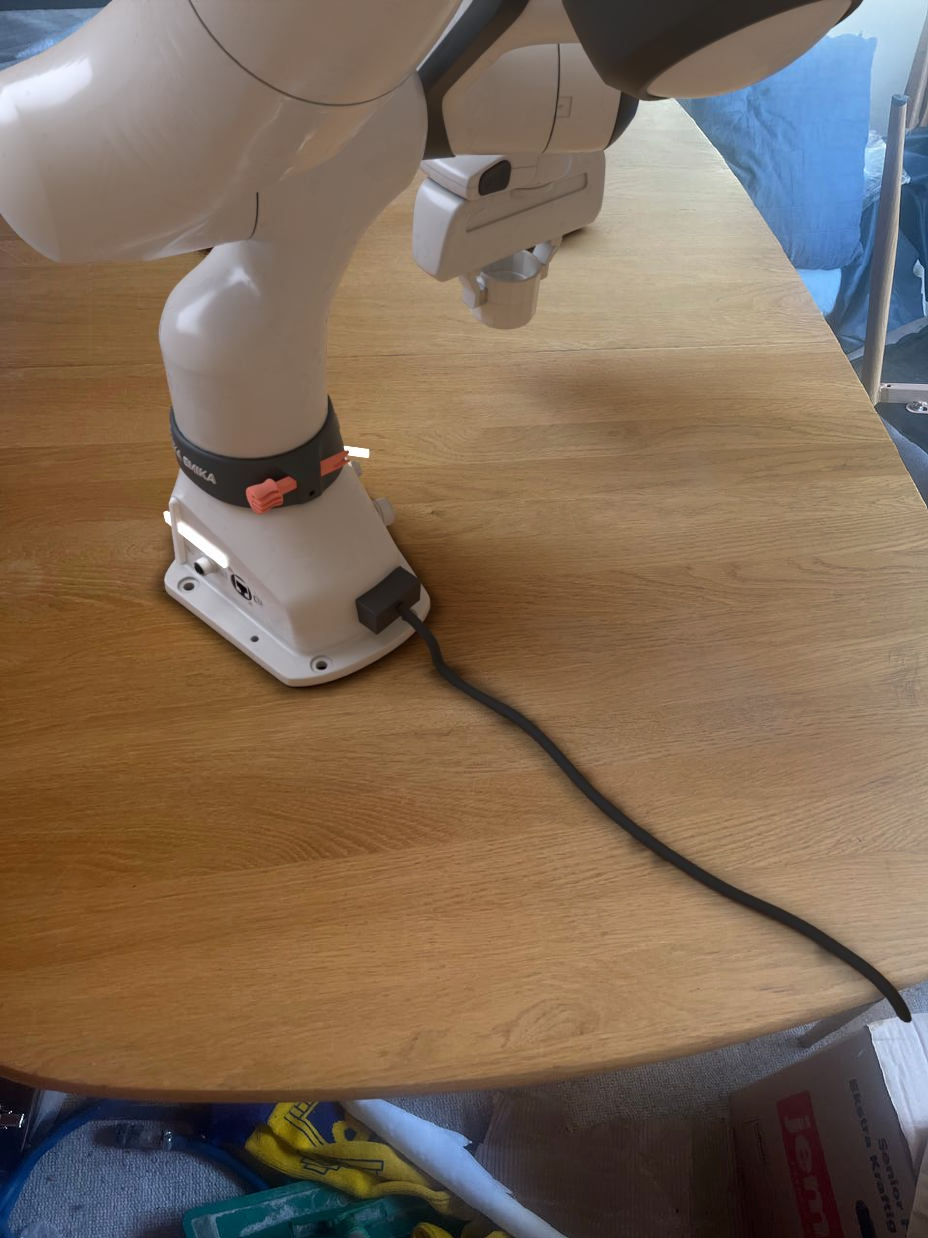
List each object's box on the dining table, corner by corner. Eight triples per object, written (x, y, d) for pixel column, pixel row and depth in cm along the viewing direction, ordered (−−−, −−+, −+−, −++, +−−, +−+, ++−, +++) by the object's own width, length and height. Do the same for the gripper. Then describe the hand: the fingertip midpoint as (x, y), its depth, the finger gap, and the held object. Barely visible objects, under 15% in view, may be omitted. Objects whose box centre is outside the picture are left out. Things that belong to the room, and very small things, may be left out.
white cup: (548, 316, 92) (556, 268, 88) (499, 338, 89) (504, 290, 85) (503, 286, 95) (509, 238, 91) (454, 307, 92) (458, 258, 88)
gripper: (582, 98, 86) (559, 244, 96) (402, 154, 76) (399, 309, 87) (634, 125, 83) (605, 272, 93) (454, 186, 73) (444, 342, 84)
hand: (504, 290), depth 90 cm, fingers closed on white cup, 6 cm apart
